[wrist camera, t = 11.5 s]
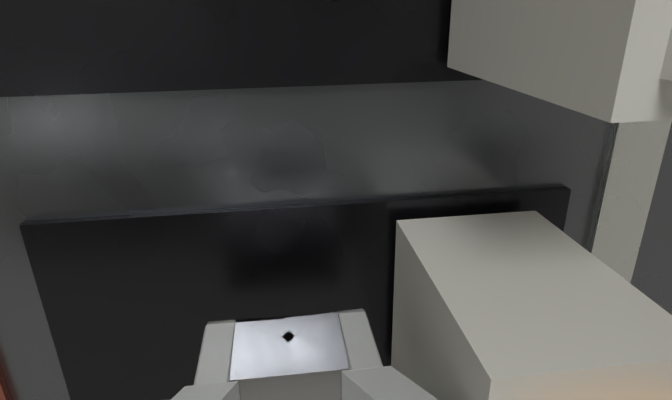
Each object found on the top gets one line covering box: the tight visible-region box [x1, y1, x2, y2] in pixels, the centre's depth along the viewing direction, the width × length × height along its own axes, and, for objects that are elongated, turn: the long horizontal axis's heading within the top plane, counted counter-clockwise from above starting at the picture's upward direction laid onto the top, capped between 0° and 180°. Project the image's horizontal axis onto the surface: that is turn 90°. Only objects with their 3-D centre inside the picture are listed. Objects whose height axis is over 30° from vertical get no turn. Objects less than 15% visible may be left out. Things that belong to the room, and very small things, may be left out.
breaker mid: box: [391, 211, 672, 400], centre depth 8 cm, size 4×3×5 cm
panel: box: [0, 0, 672, 400], centre depth 12 cm, size 20×22×2 cm
